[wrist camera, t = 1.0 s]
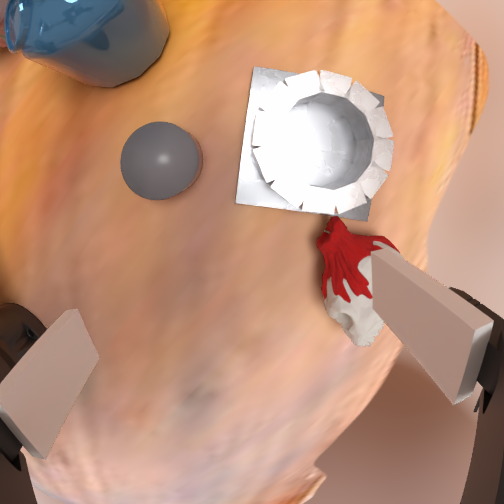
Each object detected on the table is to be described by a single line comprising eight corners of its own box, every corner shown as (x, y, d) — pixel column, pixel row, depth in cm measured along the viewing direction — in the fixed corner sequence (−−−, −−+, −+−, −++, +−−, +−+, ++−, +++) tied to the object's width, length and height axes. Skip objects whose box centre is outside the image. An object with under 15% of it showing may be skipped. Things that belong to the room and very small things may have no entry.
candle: (347, 331, 39) (279, 251, 37) (408, 278, 37) (346, 193, 35) (367, 365, 30) (284, 271, 28) (441, 301, 29) (372, 194, 27)
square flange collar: (235, 202, 34) (235, 210, 28) (253, 68, 29) (257, 51, 24) (364, 220, 35) (386, 230, 30) (381, 97, 31) (404, 88, 25)
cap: (136, 191, 33) (117, 197, 27) (142, 127, 31) (125, 121, 25) (199, 196, 33) (191, 203, 28) (206, 130, 31) (201, 124, 26)
